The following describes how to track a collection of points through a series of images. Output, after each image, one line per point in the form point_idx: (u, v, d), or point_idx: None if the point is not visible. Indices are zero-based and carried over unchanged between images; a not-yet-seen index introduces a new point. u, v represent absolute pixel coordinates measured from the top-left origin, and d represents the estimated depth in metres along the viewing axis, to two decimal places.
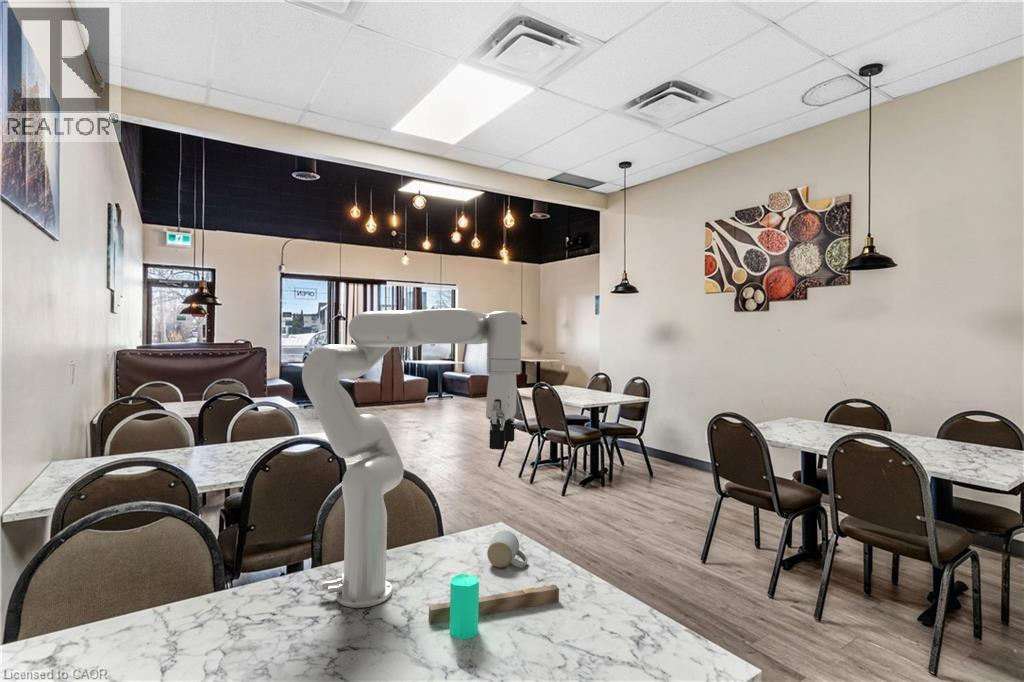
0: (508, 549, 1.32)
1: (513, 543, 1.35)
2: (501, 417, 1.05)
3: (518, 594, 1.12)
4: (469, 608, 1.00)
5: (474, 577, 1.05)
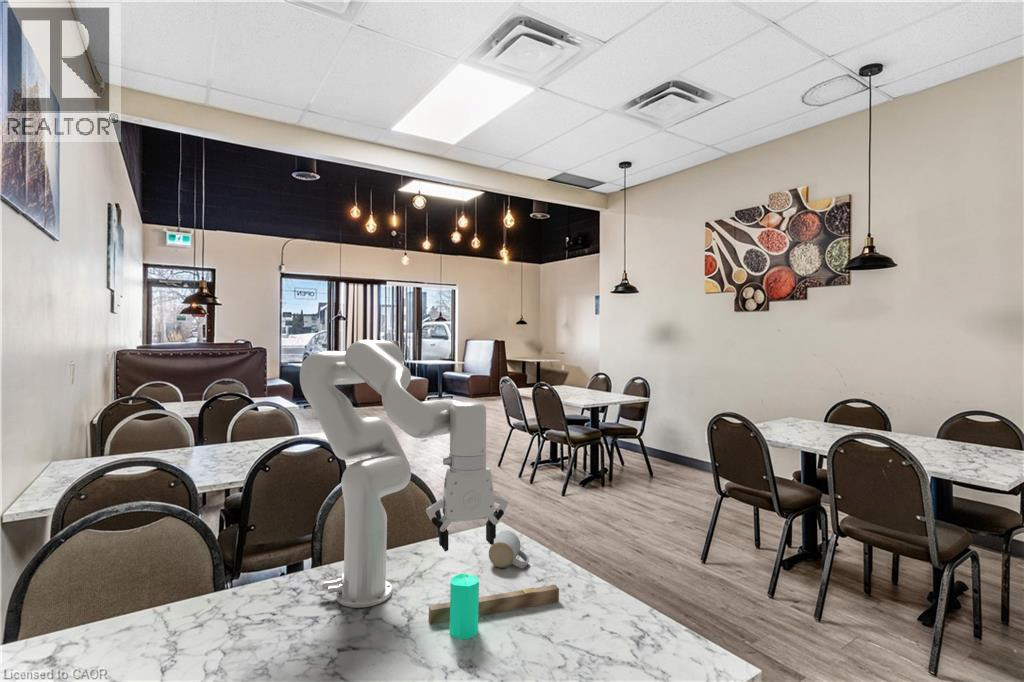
0: (510, 549, 1.32)
1: (514, 543, 1.35)
2: None
3: (518, 594, 1.12)
4: (469, 608, 1.00)
5: (474, 577, 1.05)
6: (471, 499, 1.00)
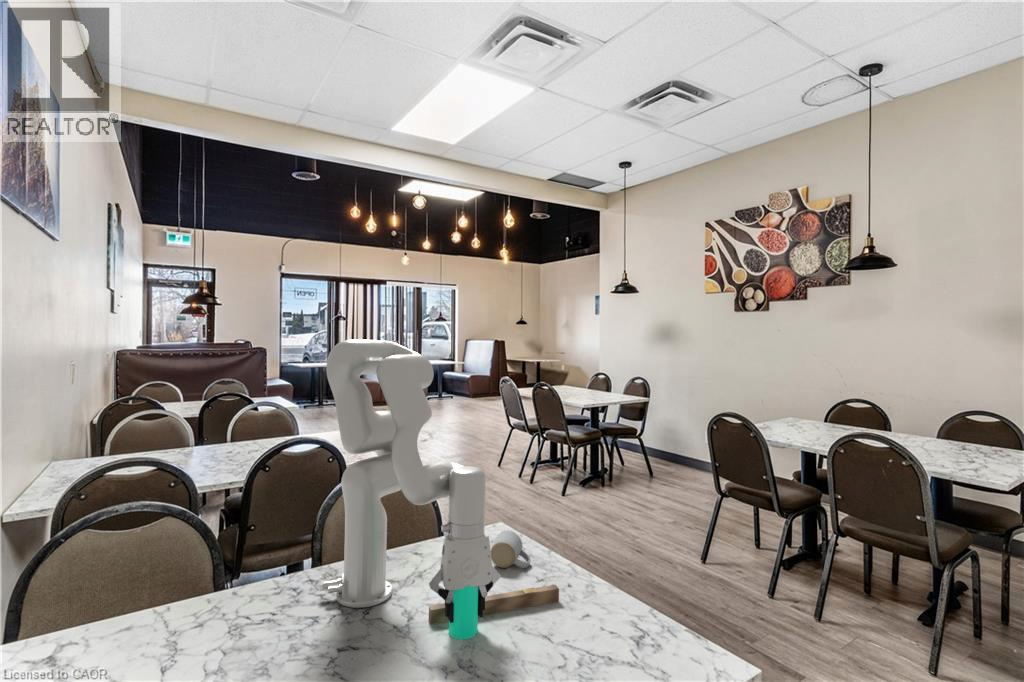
0: (512, 549, 1.32)
1: (516, 543, 1.35)
2: None
3: (518, 594, 1.12)
4: (468, 608, 1.00)
5: None
6: (468, 567, 1.00)
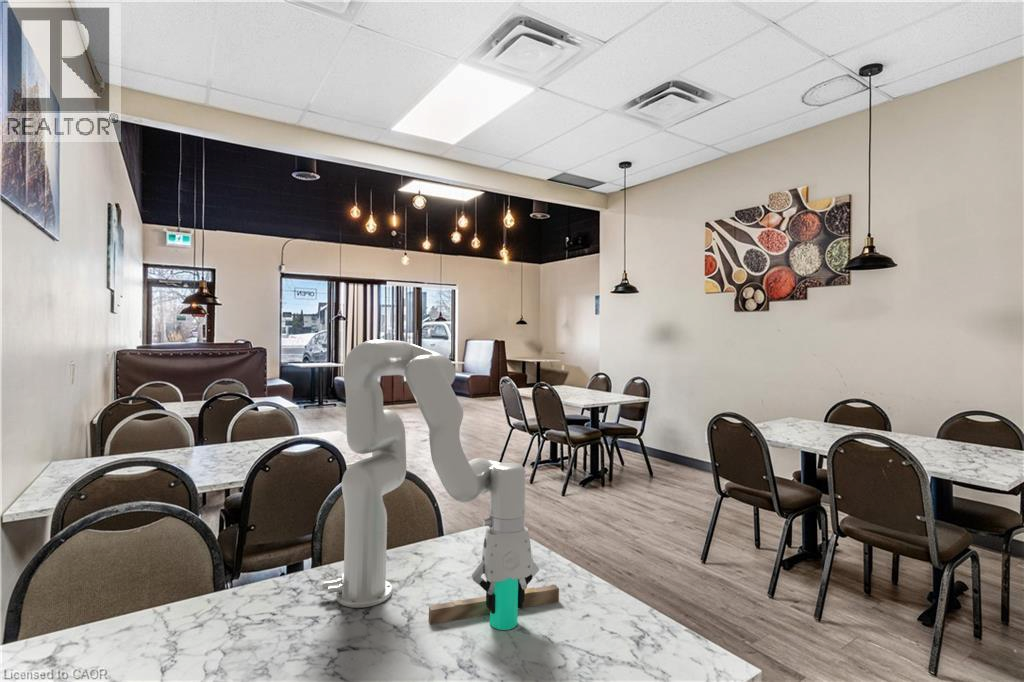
0: None
1: None
2: None
3: None
4: (509, 600, 1.03)
5: None
6: (510, 560, 1.03)
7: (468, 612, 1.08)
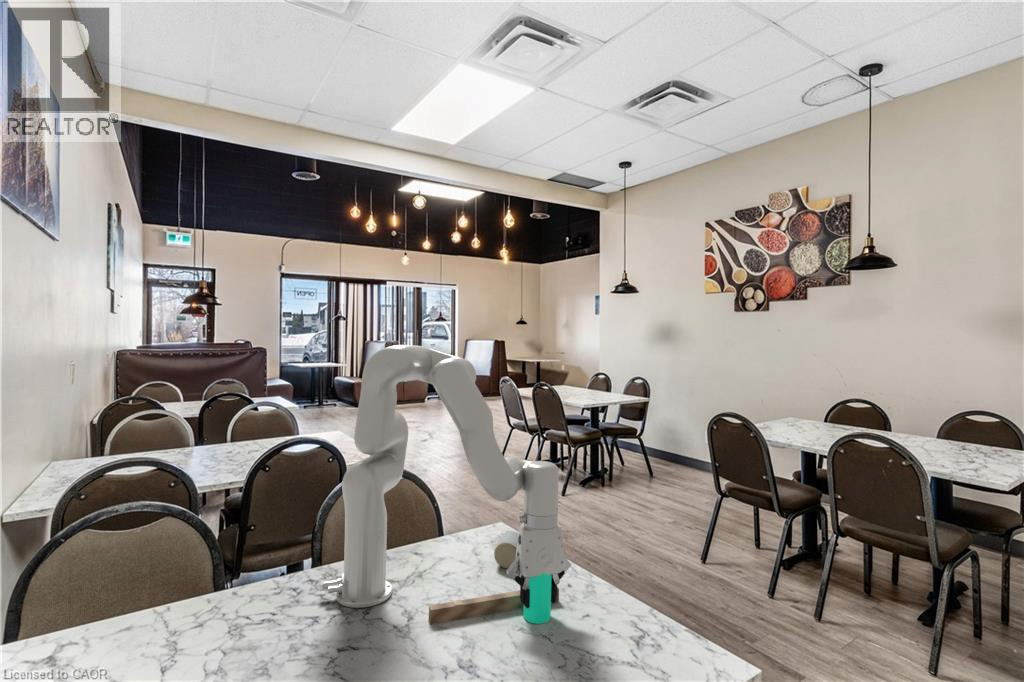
0: None
1: None
2: None
3: (518, 594, 1.12)
4: (543, 595, 1.06)
5: None
6: (544, 556, 1.06)
7: (468, 612, 1.08)
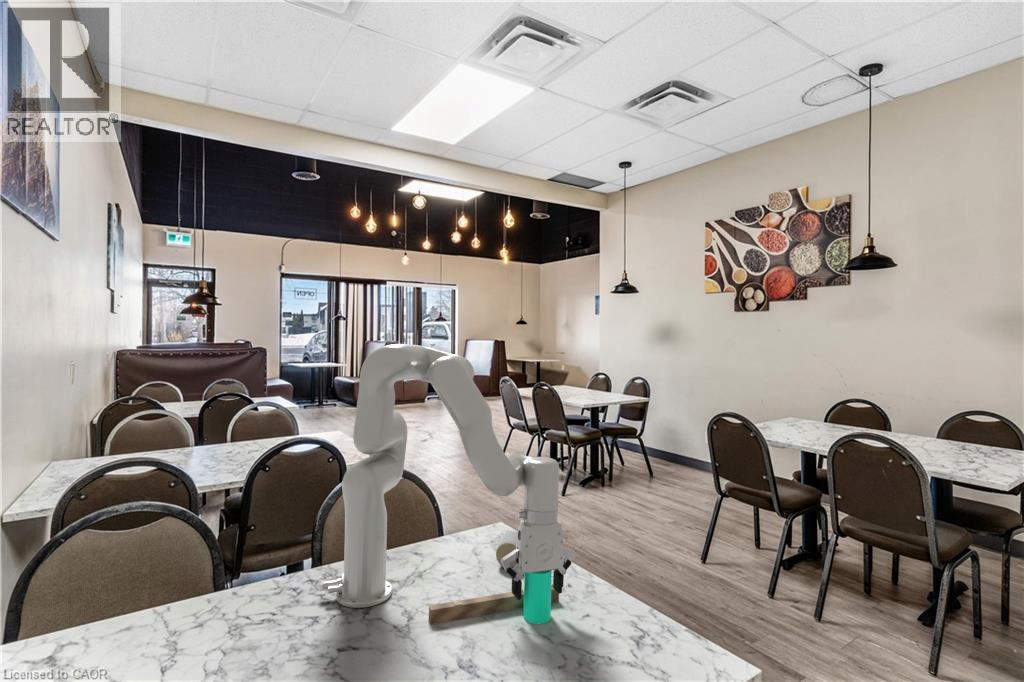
0: None
1: None
2: None
3: None
4: (543, 595, 1.06)
5: None
6: (543, 552, 1.06)
7: (468, 612, 1.08)
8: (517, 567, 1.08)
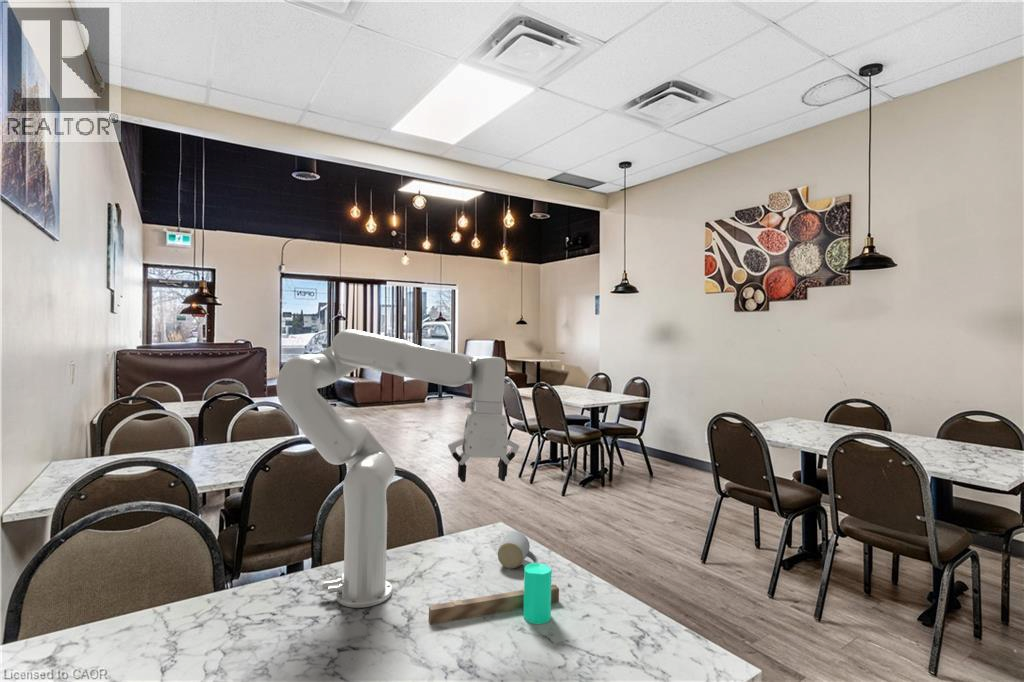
0: (519, 550, 1.31)
1: (523, 544, 1.35)
2: None
3: (518, 594, 1.12)
4: (543, 595, 1.06)
5: (545, 566, 1.11)
6: (487, 439, 1.16)
7: (468, 612, 1.08)
8: (464, 454, 1.18)
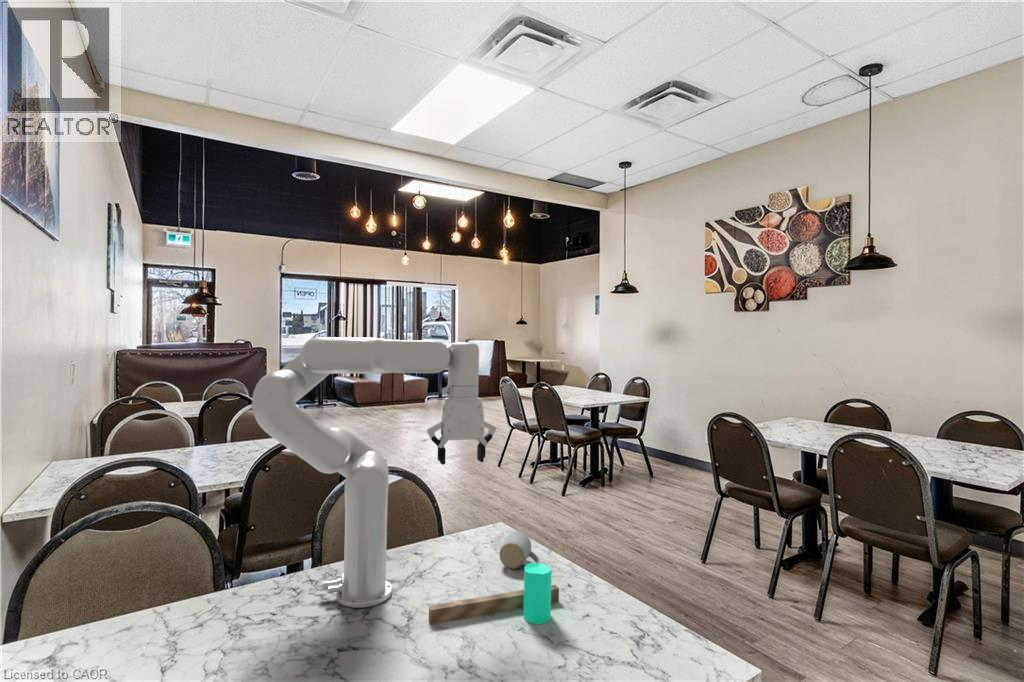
0: (521, 550, 1.31)
1: (525, 544, 1.35)
2: None
3: (518, 594, 1.12)
4: (543, 595, 1.06)
5: (545, 566, 1.11)
6: (464, 422, 1.20)
7: (468, 612, 1.08)
8: (442, 438, 1.22)
